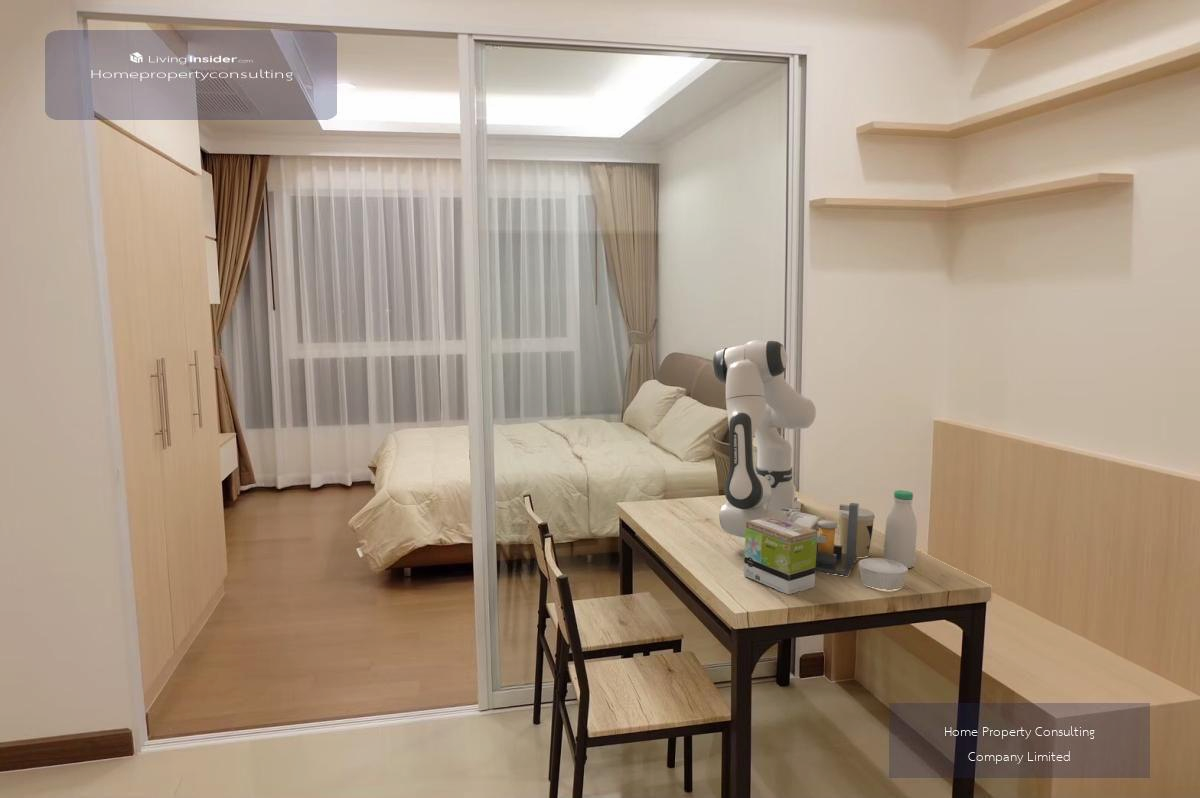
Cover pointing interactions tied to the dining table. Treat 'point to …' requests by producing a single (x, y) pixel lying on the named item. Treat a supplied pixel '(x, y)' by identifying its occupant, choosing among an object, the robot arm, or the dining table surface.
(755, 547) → the tea box
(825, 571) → the keeper stand
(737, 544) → the dining table surface
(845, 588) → the dining table surface
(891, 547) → the milk bottle
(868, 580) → the ramekin
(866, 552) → the coffee cup
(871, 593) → the dining table surface
